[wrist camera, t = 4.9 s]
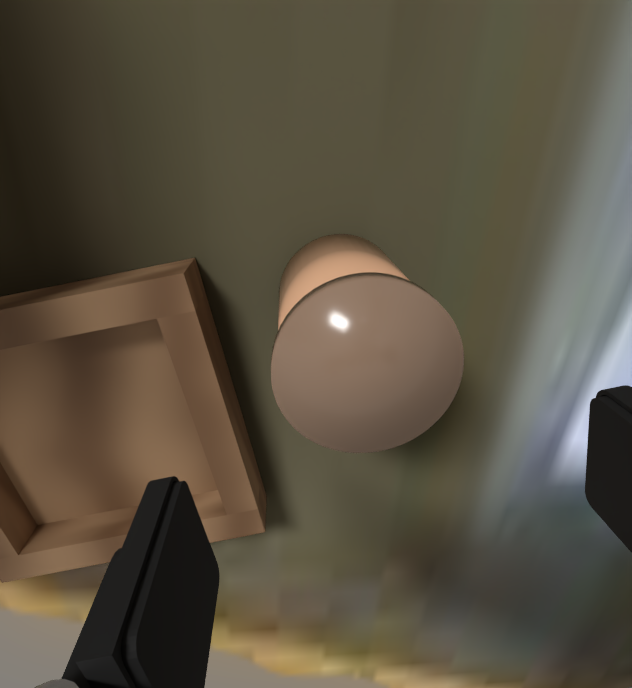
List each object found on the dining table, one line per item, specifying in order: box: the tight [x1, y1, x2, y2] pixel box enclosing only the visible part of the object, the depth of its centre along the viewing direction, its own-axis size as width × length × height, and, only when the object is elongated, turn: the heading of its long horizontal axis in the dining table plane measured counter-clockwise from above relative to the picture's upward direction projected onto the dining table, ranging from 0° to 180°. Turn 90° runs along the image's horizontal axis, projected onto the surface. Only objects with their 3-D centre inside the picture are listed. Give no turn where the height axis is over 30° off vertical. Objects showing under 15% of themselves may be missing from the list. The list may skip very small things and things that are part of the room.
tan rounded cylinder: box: [271, 234, 464, 453], centre depth 18 cm, size 6×6×8 cm
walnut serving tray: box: [0, 258, 267, 583], centre depth 22 cm, size 14×14×3 cm
